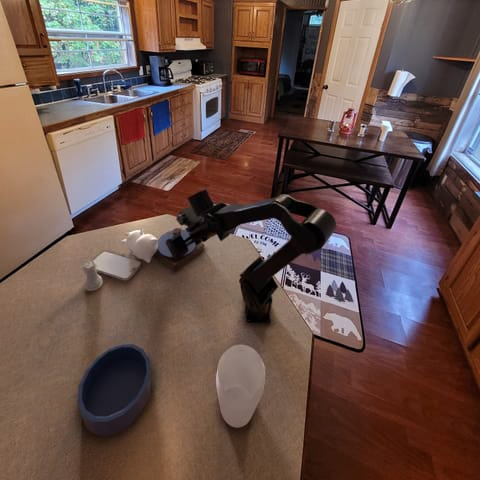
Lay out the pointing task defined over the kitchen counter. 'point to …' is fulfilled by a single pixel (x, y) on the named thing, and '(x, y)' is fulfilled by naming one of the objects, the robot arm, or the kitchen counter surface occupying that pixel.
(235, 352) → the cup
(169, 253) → the lid
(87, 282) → the rook chess piece
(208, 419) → the kitchen counter surface
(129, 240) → the white rounded figure
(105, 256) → the smartphone
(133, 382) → the tin
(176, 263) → the trivet
